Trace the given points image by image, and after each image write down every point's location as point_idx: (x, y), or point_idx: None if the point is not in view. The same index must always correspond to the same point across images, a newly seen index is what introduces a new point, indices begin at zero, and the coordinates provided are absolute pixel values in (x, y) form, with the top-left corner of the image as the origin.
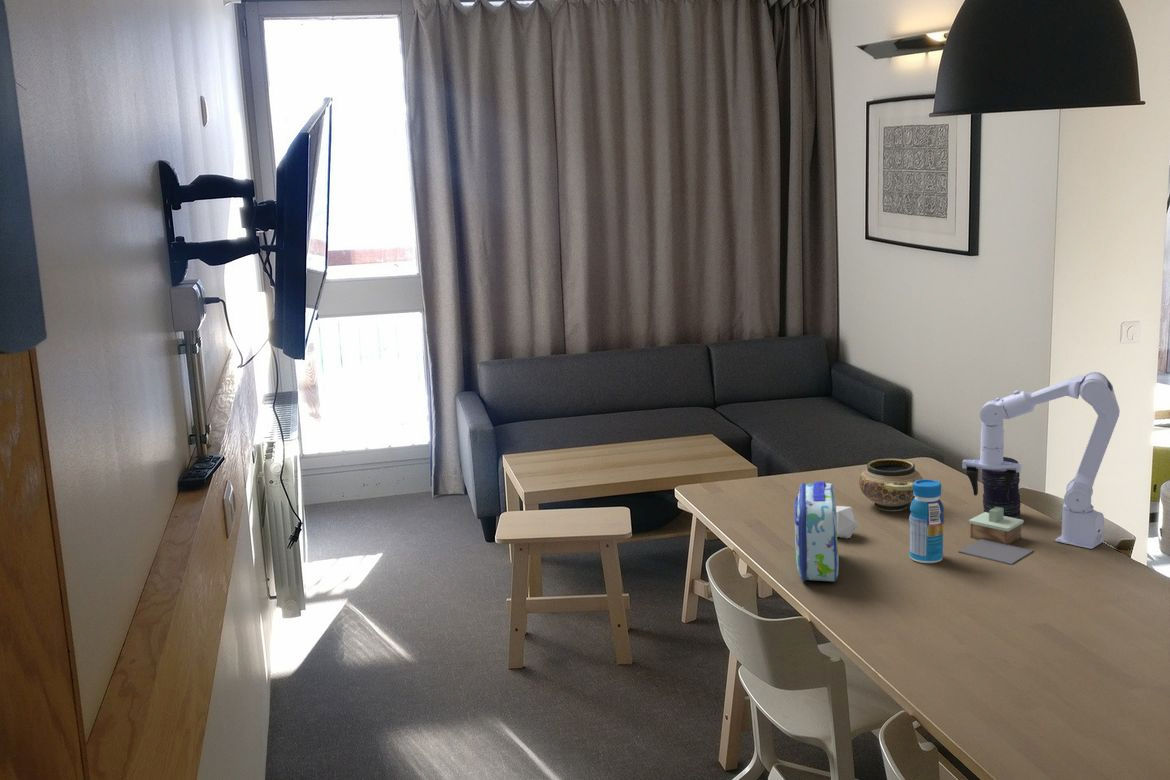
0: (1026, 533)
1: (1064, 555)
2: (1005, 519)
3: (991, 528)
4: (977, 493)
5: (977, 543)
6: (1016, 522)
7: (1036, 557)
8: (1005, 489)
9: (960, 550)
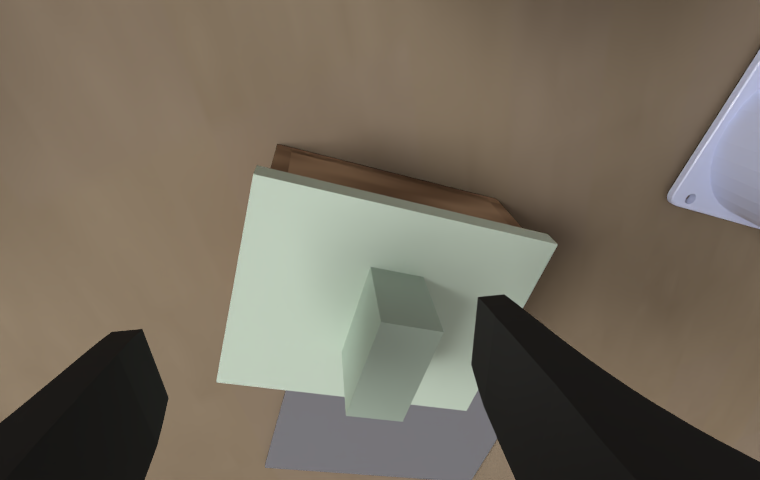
0: (527, 114)
1: (663, 338)
2: (438, 280)
3: None
4: (146, 348)
5: None
6: None
7: None
8: (521, 475)
9: (269, 461)
